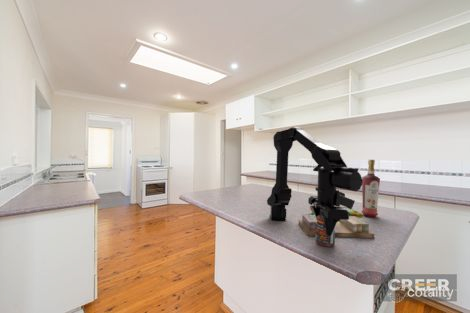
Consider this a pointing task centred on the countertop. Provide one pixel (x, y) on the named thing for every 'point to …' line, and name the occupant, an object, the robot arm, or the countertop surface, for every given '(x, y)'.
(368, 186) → the liquor
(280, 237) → the countertop surface
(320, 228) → the supplement bottle
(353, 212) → the puzzle game
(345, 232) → the book rack
